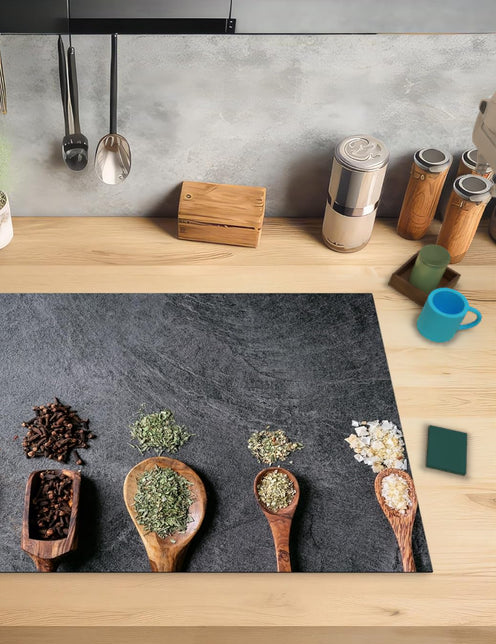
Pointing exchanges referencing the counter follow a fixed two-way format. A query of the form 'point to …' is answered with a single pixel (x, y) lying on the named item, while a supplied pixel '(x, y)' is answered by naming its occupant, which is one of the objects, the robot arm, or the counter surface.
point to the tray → (415, 294)
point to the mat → (447, 450)
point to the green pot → (429, 268)
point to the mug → (445, 315)
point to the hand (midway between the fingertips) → (486, 183)
